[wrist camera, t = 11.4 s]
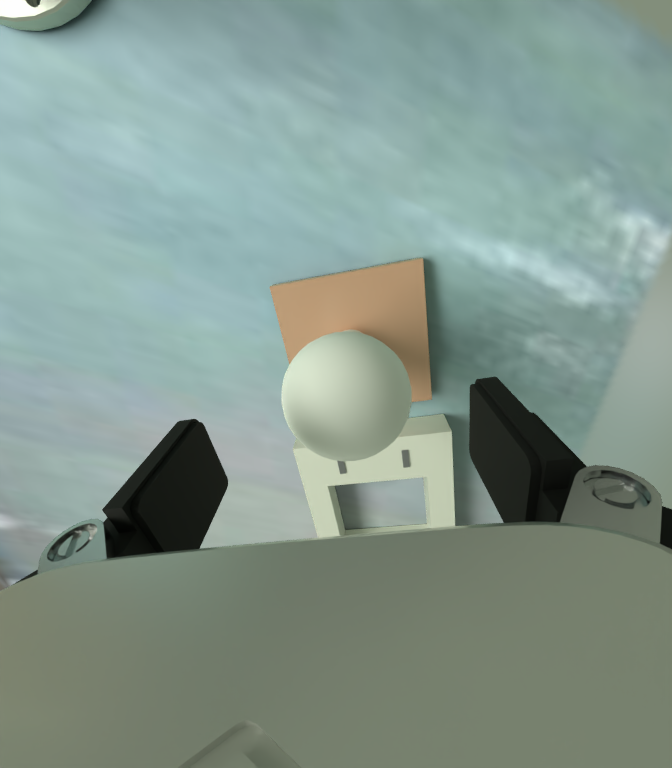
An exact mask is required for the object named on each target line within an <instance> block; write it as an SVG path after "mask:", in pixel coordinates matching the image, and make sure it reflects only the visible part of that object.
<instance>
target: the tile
mask: <svg viewBox="0 0 672 768" xmlns="http://www.w3.org/2000/svg"><path fill="white" fill-rule="evenodd" d="M270 290H271V294H272V298H273V302H274V306H275V310H276V313H277V317H278V321H279V325H280V329H281V333H282V337H283V341H284V345H285V348H286V352H287V356H288V360H289V364H290V363H291V361H292V360H293V358H294V357H295V356H296V355H297V353H298V352H299V351H300V350H301V349H302V348H304V347H305V346H306V345H307V344H309V343H310V342H312V341H314V340H316V339H318V338H320V337H322V336H324V335H327V334H331V333H334V332H342V331H344V330H349V329H353V330H358V331H360V332H362V333H363V334H366V335H369V336H372V337H374V338H376V339H377V340H379V341H381V342H383V343H384V344H385V345H386V346H388V347H389V348H390V349H391V350H392V351H394V352H395V354H396V355H397V356H398V357H399V359H400V360H401V361H402V363H403V365H404V367H405V369H406V371H407V373H408V377H409V381H410V385H411V393H412V401H411V402H416V401H424V400H431V399H432V393H431V377H430V361H429V345H428V329H427V313H426V298H425V282H424V266H423V258H415V259H409V260H404V261H398V262H393V263H388V264H382V265H377V266H371V267H366V268H360V269H355V270H350V271H344V272H339V273H333V274H328V275H322V276H317V277H312V278H306V279H301V280H295V281H290V282H284V283H279V284H274V285H272V286H270Z"/></svg>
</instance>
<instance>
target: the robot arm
mask: <svg viewBox="0 0 672 768" xmlns="http://www.w3.org/2000/svg"><path fill="white" fill-rule="evenodd" d="M91 1H92V0H0V24H1V25H5V26H8V27H11V28H15V29H18V30H34V31H42V30H46V29H50V28H54V27H58V26H61V25H63V24H65V23H66V22H68V21H70V20H71V19H73V18H75V17H76V16H78V15H79V14H80V13H81V12H82V11H83V10H84V9H85V8H86V7H87V5H88V4H89V3H90V2H91ZM469 450H470V456H471V459H472V461H473V463H474V465H475V467H476V469H477V471H478V473H479V475H480V477H481V479H482V481H483V483H484V485H485V487H486V489H487V491H488V493H489V494H490V496H491V498H492V500H493V502H494V504H495V506H496V508H497V510H498V512H499V514H500V516H501V518H502V520H503V522H504V523H492V524H475V525H464V526H451V527H437V528H425V529H413V530H402V531H390V532H378V533H366V534H354V535H343V536H332V537H321V538H309V539H298V540H287V541H276V542H265V543H255V544H244V545H233V546H223V547H213V548H202V549H199V548H200V546H201V544H202V542H203V540H204V537H205V535H206V533H207V531H208V529H209V526H210V524H211V522H212V520H213V518H214V516H215V513H216V511H217V509H218V507H219V505H220V502H221V500H222V498H223V496H224V494H225V492H226V489H227V486H228V479H227V476H226V474H225V472H224V469H223V467H222V465H221V463H220V460H219V458H218V456H217V454H216V451H215V449H214V447H213V445H212V442H211V440H210V438H209V435H208V433H207V431H206V429H205V426H204V425H203V423H201V422H199V421H198V420H196V419H191V420H184V421H179V422H177V423H176V424H175V426H174V427H173V428H172V429H171V430H170V431H169V433H168V434H167V435H166V436H165V437H164V438H163V440H162V441H161V442H160V443H159V444H158V445H157V447H156V448H155V449H154V450H153V451H152V452H151V454H150V455H149V456H148V457H147V458H146V459H145V461H144V462H143V463H142V464H141V465H140V466H139V468H138V469H137V470H136V471H135V472H134V473H133V475H132V476H131V477H130V478H129V479H128V480H127V482H126V483H125V484H124V485H123V486H122V487H121V489H120V490H119V491H118V492H117V493H116V494H115V496H114V497H113V498H112V499H111V500H110V501H109V502H108V504H107V505H106V506H105V507H104V508H103V509H102V510H103V512H104V513H105V514H106V516H107V517H108V518H107V519H106V520H105V521H104V523H103V522H102V521H101V520H99V519H89V520H86V521H82V522H80V523H78V524H75V525H73V526H72V527H70V528H68V529H67V530H65V531H63V532H62V533H61V534H60V535H58V536H57V537H56V538H55V539H54V540H53V541H52V542H50V543H49V544H48V545H47V547H46V548H45V550H44V551H43V552H42V554H41V557H40V560H39V567H38V570H36V571H35V572H33V573H31V574H30V575H28V576H26V577H25V578H23V579H21V580H20V581H18V582H16V583H15V584H13V585H11V586H10V587H8V588H6V589H4V590H2V591H0V768H672V509H669V508H666V507H663V506H662V499H661V495H660V493H659V492H658V491H657V490H656V488H655V487H654V486H653V485H651V484H650V483H649V482H647V481H646V480H645V479H643V478H641V477H639V476H638V475H635V474H634V473H632V472H629V471H626V470H623V469H620V468H615V467H610V466H597V465H595V466H589V467H586V465H585V464H583V462H582V461H581V460H580V459H579V458H578V457H577V456H576V455H575V454H574V453H573V452H572V451H571V450H570V449H569V448H568V447H567V446H566V445H565V444H564V443H563V442H562V441H561V440H560V439H559V438H558V436H557V435H556V434H555V433H554V432H553V431H552V430H551V429H550V428H549V427H548V426H547V425H546V424H545V423H544V422H543V421H542V420H541V419H540V418H539V417H538V416H537V415H536V414H534V413H531V412H529V411H528V410H527V409H526V408H525V407H524V406H523V404H522V403H521V402H520V401H519V400H518V399H517V398H516V397H515V396H514V395H513V394H512V393H511V392H510V391H509V390H508V389H507V388H506V387H505V386H504V384H503V383H502V382H501V381H500V380H499V379H498V378H497V377H490V378H483V379H477V380H476V382H475V384H471V385H470V440H469Z"/></svg>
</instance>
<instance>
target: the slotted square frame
mask: <svg viewBox="0 0 672 768" xmlns="http://www.w3.org/2000/svg"><path fill="white" fill-rule="evenodd" d="M293 451H294V455H295V458H296V462H297V465H298V469H299V472H300V476H301V479H302V483H303V486H304V490H305V493H306V497H307V500H308V504H309V507H310V511H311V514H312V518H313V521H314V525H315V528H316V532H317V535H318V538H321V537H332V536H343V535H354V534H366V533H378V532H390V531H402V530H413V529H425V528H437V527H451V526H455V508H454V480H453V452H452V431H451V429H450V427H449V425H448V422H447V420H446V418H445V416H444V414H439V415H431V416H422V417H414V418H408V419H407V421H406V423H405V425H404V427H403V429H402V431H401V433H400V434H399V436H398V437H397V438H396V440H395V441H394V442H393V443H391V444H390V445H389V446H388V447H387V448H385V449H384V450H382V451H381V452H379V453H377V454H376V455H374V456H371V457H369V458H366V459H362V460H357V461H337V460H331V459H328V458H324V457H322V456H320V455H318V454H315V453H314V452H312V451H311V450H309V449H308V448H306V447H305V446H304V445H303V444H302V443H301V442H300V441H299V440H298V439H297V438H296V441H295V444H294V447H293ZM419 477H423V481H424V493H425V504H426V516H427V524H417V525H404V526H391V527H377V528H364V529H351V530H345V528H344V523H343V519H342V515H341V510H340V506H339V502H338V498H337V493H336V489H335V485H345V484H356V483H366V482H377V481H388V480H398V479H409V478H419Z"/></svg>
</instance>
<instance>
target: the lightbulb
mask: <svg viewBox="0 0 672 768" xmlns="http://www.w3.org/2000/svg"><path fill="white" fill-rule="evenodd" d="M411 401H412V393H411V385H410V381H409V377H408V373H407V371H406V369H405V367H404V365H403V363H402V361H401V360H400V359H399V357H398V356H397V355H396V354H395V352H394V351H392V350H391V349H390V348H389V347H388V346H386V345H385V344H384V343H383V342H381V341H379V340H377V339H376V338H374V337H372V336H369V335H366V334H363V333H362V332H360V331H358V330H353V329H349V330H344V331H342V332H334V333H331V334H327V335H324V336H322V337H320V338H318V339H316V340H314V341H312V342H310V343H309V344H307V345H306V346H305V347H304V348H302V349H301V350H300V351H299V352H298V353H297V355H296V356H295V357H294V358H293V360H292V361H291V363H290V365H289V367H288V369H287V371H286V373H285V376H284V380H283V384H282V407H283V412H284V416H285V419H286V421H287V424H288V426H289V428H290V430H291V431H292V433H293V434H294V435H295V437H296V438H297V439H298V440H299V441H300V442H301V443H302V444H303V445H304V446H305V447H306V448H308V449H309V450H311V451H312V452H314V453H315V454H318V455H320V456H322V457H324V458H328V459H331V460H337V461H357V460H362V459H366V458H369V457H371V456H374V455H376V454H377V453H379V452H381V451H382V450H384V449H385V448H387V447H388V446H389V445H390V444H391V443H393V442H394V441H395V440H396V438H397V437H398V436H399V434H400V433H401V431H402V429H403V427H404V425H405V423H406V421H407V419H408V417H409V412H410V407H411Z"/></svg>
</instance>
